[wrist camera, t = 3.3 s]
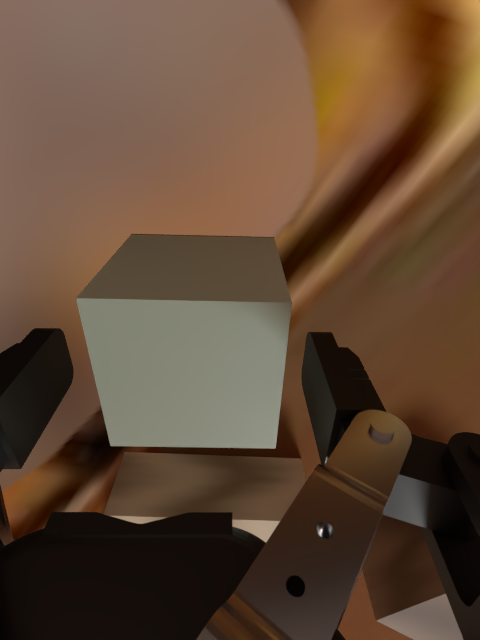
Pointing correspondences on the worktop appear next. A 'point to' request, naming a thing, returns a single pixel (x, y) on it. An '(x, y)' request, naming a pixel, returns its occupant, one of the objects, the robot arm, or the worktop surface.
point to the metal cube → (407, 584)
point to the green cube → (189, 340)
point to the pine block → (206, 488)
